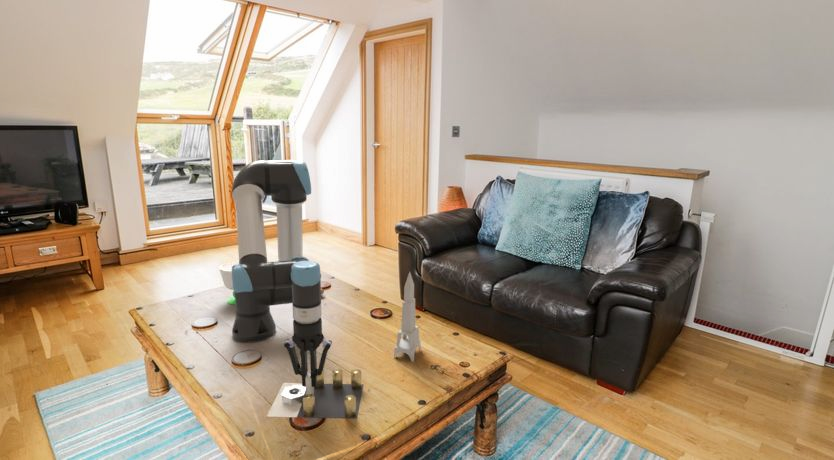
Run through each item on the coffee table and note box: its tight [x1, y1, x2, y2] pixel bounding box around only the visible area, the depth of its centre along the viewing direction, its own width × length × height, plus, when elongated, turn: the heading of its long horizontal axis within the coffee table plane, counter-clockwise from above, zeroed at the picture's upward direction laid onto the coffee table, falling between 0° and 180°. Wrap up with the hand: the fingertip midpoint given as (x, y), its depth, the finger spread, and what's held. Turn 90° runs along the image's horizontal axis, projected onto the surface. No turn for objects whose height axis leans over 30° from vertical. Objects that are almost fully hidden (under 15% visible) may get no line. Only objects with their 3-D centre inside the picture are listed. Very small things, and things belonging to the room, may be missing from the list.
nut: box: [282, 385, 306, 407], centre depth 128 cm, size 7×6×3 cm
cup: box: [218, 261, 239, 306], centre depth 195 cm, size 14×14×16 cm
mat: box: [266, 382, 364, 419], centre depth 128 cm, size 24×16×1 cm, turn 90°
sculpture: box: [393, 271, 422, 363], centre depth 152 cm, size 7×8×30 cm
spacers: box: [303, 368, 362, 419], centre depth 128 cm, size 14×16×5 cm
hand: (309, 395), depth 128 cm, fingers closed
